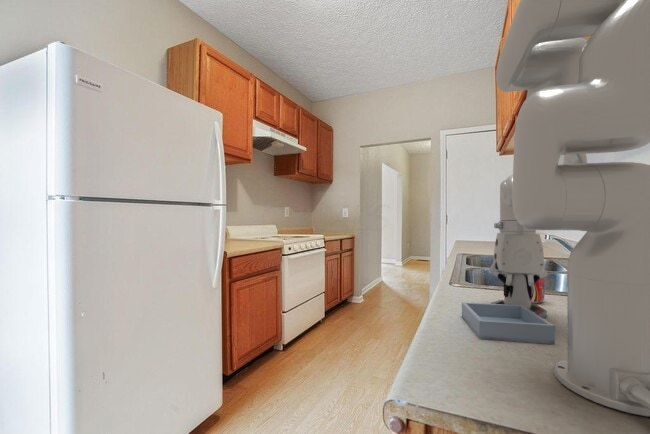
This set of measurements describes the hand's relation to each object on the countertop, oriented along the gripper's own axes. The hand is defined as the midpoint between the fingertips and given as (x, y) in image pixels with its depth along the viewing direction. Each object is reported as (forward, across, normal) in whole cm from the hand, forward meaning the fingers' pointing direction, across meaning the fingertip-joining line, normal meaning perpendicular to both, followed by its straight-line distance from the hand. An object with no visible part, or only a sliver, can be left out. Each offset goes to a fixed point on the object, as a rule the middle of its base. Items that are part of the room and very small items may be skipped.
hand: (517, 299), depth 74 cm
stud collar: (+3, 0, 0) cm, 3 cm away
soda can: (+3, +8, +12) cm, 15 cm away
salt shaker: (+3, 0, 0) cm, 3 cm away
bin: (+3, -8, -12) cm, 15 cm away
